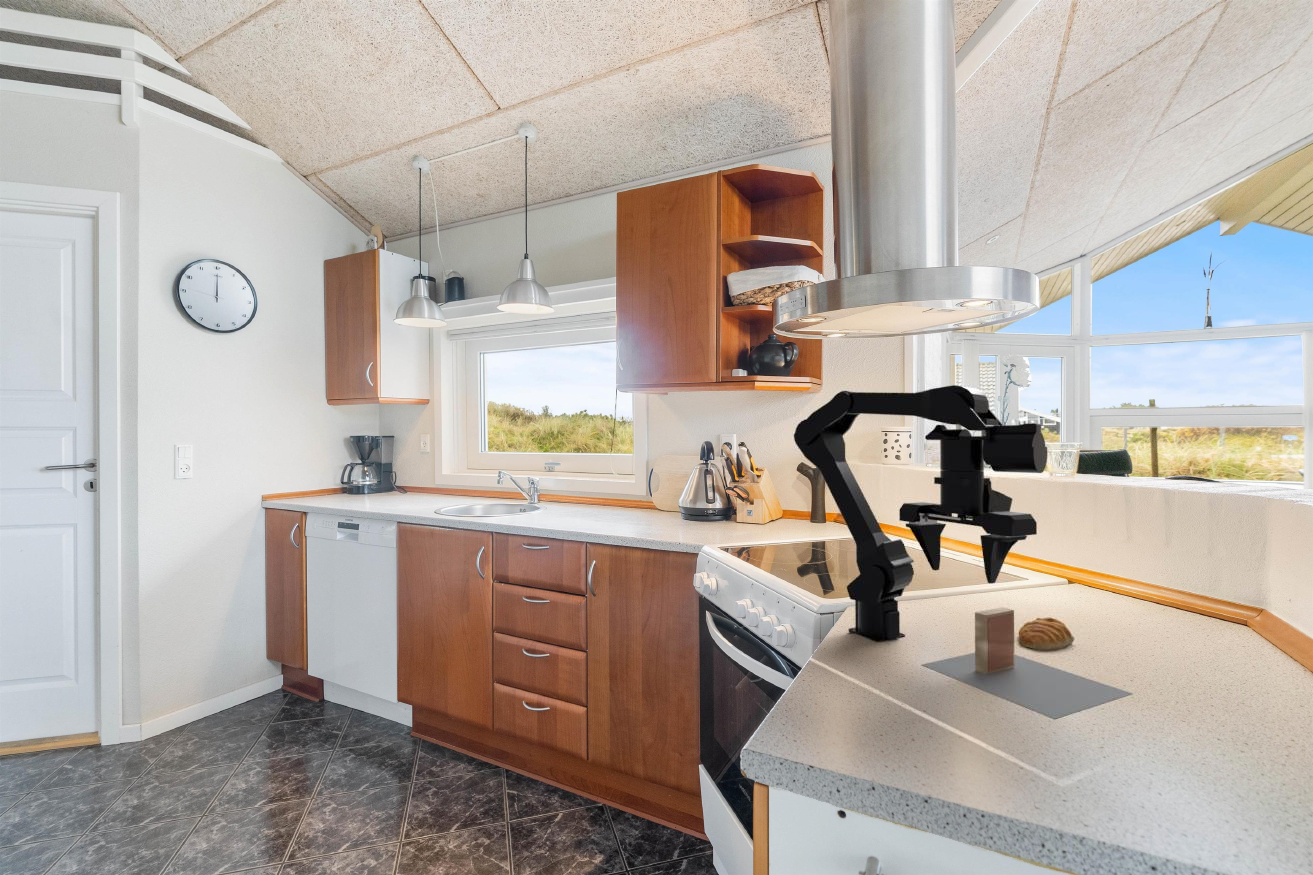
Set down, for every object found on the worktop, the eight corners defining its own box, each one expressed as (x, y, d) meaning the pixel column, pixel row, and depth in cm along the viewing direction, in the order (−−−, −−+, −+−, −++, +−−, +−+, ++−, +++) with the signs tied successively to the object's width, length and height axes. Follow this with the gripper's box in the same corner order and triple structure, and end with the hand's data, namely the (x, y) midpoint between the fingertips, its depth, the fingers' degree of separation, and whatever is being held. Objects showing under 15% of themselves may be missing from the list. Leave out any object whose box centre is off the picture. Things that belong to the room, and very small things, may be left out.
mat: (920, 667, 81) (920, 664, 81) (994, 650, 88) (994, 647, 88) (1054, 722, 65) (1054, 718, 65) (1132, 696, 72) (1132, 693, 72)
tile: (975, 670, 79) (974, 612, 79) (1003, 663, 82) (1002, 607, 82) (987, 674, 78) (986, 615, 78) (1015, 667, 80) (1014, 610, 80)
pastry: (1057, 658, 85) (1057, 633, 85) (1007, 647, 90) (1006, 622, 91) (1076, 644, 91) (1075, 620, 91) (1028, 634, 96) (1027, 612, 97)
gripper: (1061, 472, 80) (1062, 585, 80) (945, 467, 97) (946, 560, 97) (1008, 474, 75) (1009, 593, 75) (896, 468, 92) (897, 565, 92)
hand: (962, 576), depth 85 cm, fingers open, 9 cm apart
